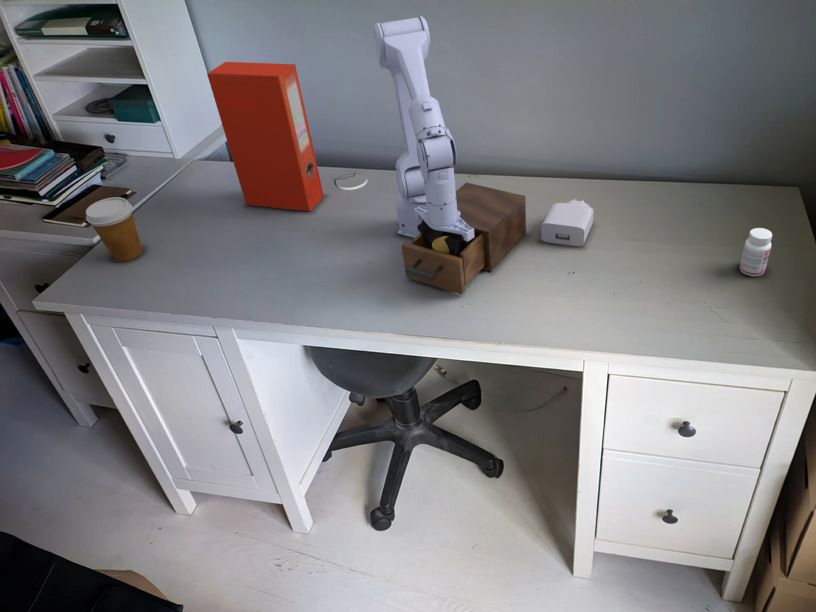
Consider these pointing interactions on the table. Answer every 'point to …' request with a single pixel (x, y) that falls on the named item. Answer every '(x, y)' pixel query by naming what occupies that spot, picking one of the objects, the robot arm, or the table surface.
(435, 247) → the tin
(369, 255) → the table surface
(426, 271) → the drawer
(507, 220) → the cabinet
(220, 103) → the file binder
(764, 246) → the pill bottle
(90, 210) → the disposable coffee cup
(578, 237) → the charger
